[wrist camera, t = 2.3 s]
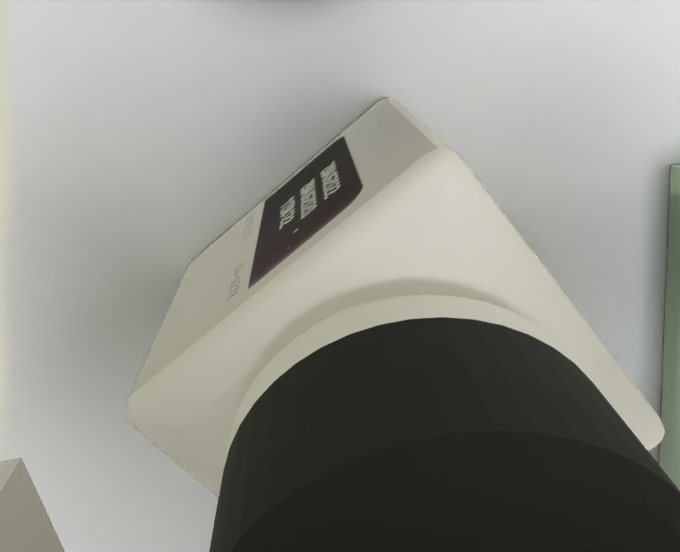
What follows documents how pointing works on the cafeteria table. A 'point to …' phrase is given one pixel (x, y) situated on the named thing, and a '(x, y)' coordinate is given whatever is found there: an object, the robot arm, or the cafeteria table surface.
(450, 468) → the container
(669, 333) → the tray
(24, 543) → the robot arm
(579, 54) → the cafeteria table surface
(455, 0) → the cafeteria table surface
